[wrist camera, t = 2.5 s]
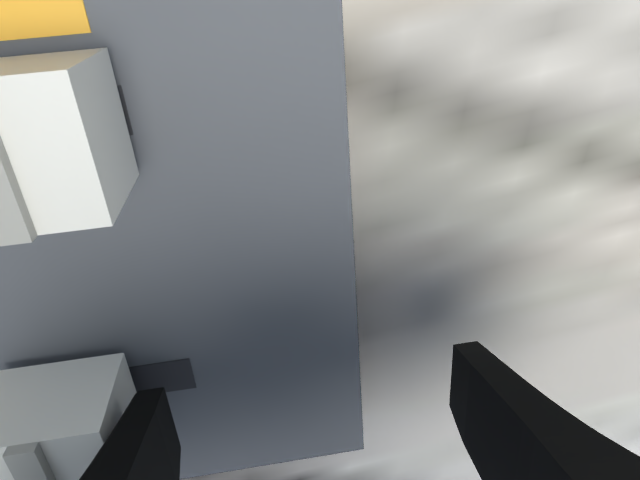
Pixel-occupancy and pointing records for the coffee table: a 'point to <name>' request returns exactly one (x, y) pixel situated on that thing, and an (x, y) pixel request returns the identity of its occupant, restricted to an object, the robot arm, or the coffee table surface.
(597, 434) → the robot arm
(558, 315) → the coffee table surface
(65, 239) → the switch panel
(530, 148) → the coffee table surface
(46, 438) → the switch
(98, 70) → the switch
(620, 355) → the coffee table surface
